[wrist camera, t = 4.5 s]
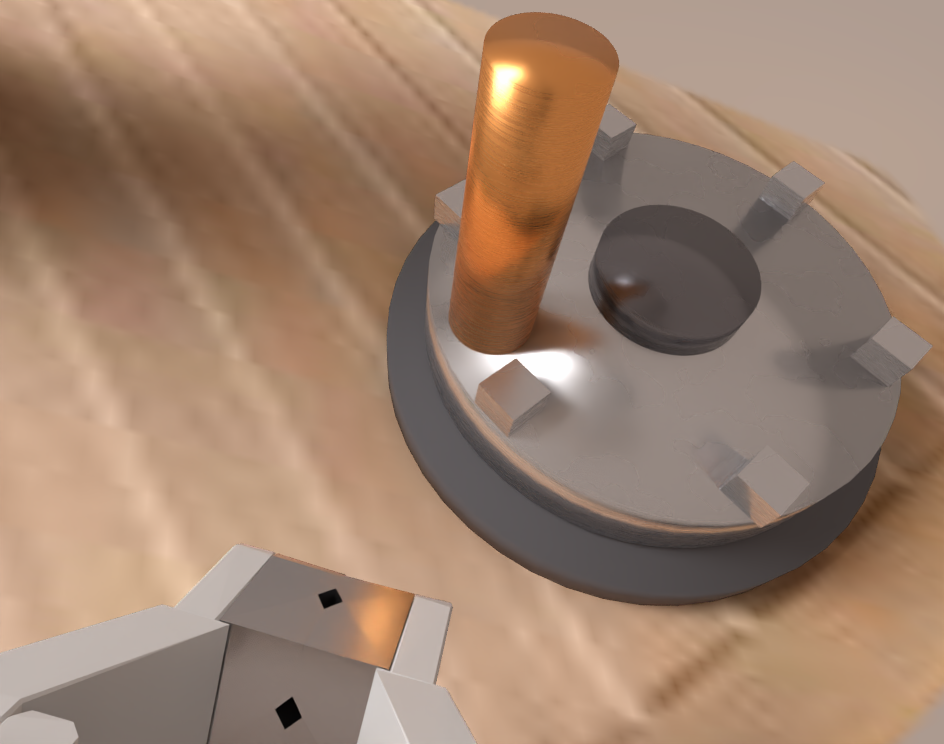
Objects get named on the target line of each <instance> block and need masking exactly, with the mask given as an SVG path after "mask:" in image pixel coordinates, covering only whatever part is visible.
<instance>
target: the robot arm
mask: <svg viewBox="0 0 944 744" xmlns="http://www.w3.org/2000/svg"><path fill="white" fill-rule="evenodd" d="M414 597H415V598H414ZM452 608H453V607H452V604H451V603H450V602H446V601H442V600H438V599H433V598H429V597H425V596H421V595H417V594H416V596H415V594H412V593H409V592H405V591H401V590H397V589H393V588H389V587H386V586H382V585H378V584H374V583H370V582H366V581H363V580H359V579H355V578H351V577H347V576H346V575H345V574H342V573H339V572H335V571H332V570H329V569H326V568H323V567H319V566H316V565H313V564H310V563H307V562H303V561H300V560H297V559H294V558H291V557H287V556H284V555H281V554H275V553H274V552H272V551H269V550H265V549H261V548H258V547H254V546H251V545H247V544H243V543H241V544H236V545H235V546H233V547H232V548H231V549H230V550H229V551H228V552H227V553H226V554H225V555H224V556H223V557H222V558H221V559H220V560H219V561H218V562H217V564H216V565H215V566H214V567H213V568H212V569H211V570H210V571H209V572H208V573H207V574H206V575H205V576H204V577H203V578H202V579H201V580H200V581H199V582H198V583H197V584H196V585H195V586H194V587H193V588H192V589H191V590H190V591H189V592H188V593H187V594H186V595H185V596H184V597H183V598H182V599H181V600H180V601H179V602H178V603H177V604H176V605H175V607H174V608H173V607H170V606H166V605H159V606H155V607H152V608H149V609H145V610H142V611H139V612H135V613H132V614H129V615H125V616H122V617H119V618H115V619H112V620H109V621H105V622H102V623H99V624H95V625H92V626H89V627H85V628H82V629H79V630H75V631H72V632H69V633H65V634H62V635H59V636H55V637H52V638H49V639H45V640H42V641H38V642H35V643H32V644H28V645H25V646H22V647H18V648H15V649H12V650H8V651H5V652H2V653H0V744H477V742H476V740H475V738H474V737H473V735H472V733H471V731H470V729H469V728H468V726H467V724H466V722H465V720H464V719H463V717H462V715H461V713H460V711H459V710H458V708H457V706H456V704H455V702H454V701H453V699H452V697H451V695H450V693H449V692H448V690H447V689H446V688H444V687H441V686H437V685H436V681H437V676H438V672H439V667H440V663H441V658H442V654H443V649H444V644H445V640H446V635H447V631H448V626H449V621H450V617H451V612H452Z"/></svg>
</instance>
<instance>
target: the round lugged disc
mask: <svg viewBox="0 0 944 744" xmlns="http://www.w3.org/2000/svg"><path fill="white" fill-rule="evenodd" d="M618 68H619V59H618V55H617V52H616V50H615V48H614V47H613V45H612V44H611V43H610V42H609V40H608V39H607V38H606V37H605V36H604V35H602V34H601V33H600V32H598V31H597V30H595V29H594V28H592V27H590V26H589V25H587V24H585V23H582V22H580V21H578V20H575V19H572V18H569V17H566V16H562V15H557V14H552V13H541V12H530V13H520V14H515V15H512V16H509V17H506V18H504V19H501V20H499V21H498V22H496V23H495V24H494V25H493V26H492V27H491V28H490V29H489V30H488V32H487V34H486V36H485V39H484V46H483V53H482V61H481V69H480V76H479V84H478V92H477V99H476V107H475V115H474V122H473V130H472V138H471V145H470V153H469V161H468V169H467V176H466V179H465V180H463V181H461V182H459V183H457V184H455V185H453V186H451V187H449V188H448V189H446V190H444V191H442V192H440V193H438V194H436V196H435V209H434V219H435V220H436V221H437V222H439V223H440V225H439V227H438V230H437V232H436V234H435V237H434V241H433V246H432V250H431V255H430V259H429V272H428V285H427V297H426V312H425V331H424V332H425V341H426V350H427V358H428V361H429V365H430V369H431V373H432V376H433V380H434V383H435V385H436V388H437V390H438V392H439V395H440V397H441V399H442V402H443V404H444V406H445V408H446V410H447V412H448V413H449V415H450V417H451V418H452V420H453V422H454V423H455V425H456V427H457V428H458V430H459V432H460V433H461V434H462V436H463V437H464V438H465V439H466V441H467V442H468V443H469V444H470V446H471V447H472V448H473V449H474V451H475V452H476V453H477V454H478V456H479V457H480V458H481V459H482V460H483V461H484V462H485V463H486V464H487V465H488V466H489V467H490V468H491V469H492V470H493V471H494V472H495V473H496V474H497V475H498V476H499V477H500V478H502V479H503V480H504V481H505V482H506V483H508V484H509V485H510V486H512V487H513V488H514V489H516V490H517V491H518V492H519V493H521V494H522V495H523V496H525V497H526V498H527V499H529V500H530V501H532V502H533V503H535V504H537V505H539V506H540V507H542V508H544V509H545V510H547V511H549V512H550V513H552V514H554V515H556V516H557V517H559V518H561V519H563V520H566V521H568V522H570V523H573V524H575V525H577V526H579V527H582V528H584V529H586V530H589V531H591V532H594V533H597V534H601V535H604V536H607V537H611V538H614V539H617V540H621V541H624V542H630V543H636V544H642V545H648V546H654V547H668V548H698V547H707V546H717V545H724V544H727V543H731V542H735V541H739V540H743V539H747V538H751V537H753V536H755V535H758V534H760V533H762V532H764V531H767V530H769V529H771V528H774V527H776V526H778V525H779V524H781V523H783V522H785V521H786V520H788V519H790V518H791V517H793V516H795V515H796V514H798V513H800V512H802V511H803V510H805V509H807V508H808V507H810V506H812V505H813V504H815V503H817V502H818V501H820V500H822V499H824V498H825V497H827V496H828V495H830V494H831V493H833V492H834V491H836V490H837V489H839V488H840V487H842V486H843V485H845V484H846V483H848V482H850V481H851V480H852V479H853V478H854V477H855V476H856V475H857V474H858V473H859V472H860V471H861V470H862V469H863V468H864V467H865V466H866V465H867V464H868V463H869V462H870V461H871V459H872V458H873V457H874V455H875V454H876V452H877V451H878V449H879V448H880V447H881V445H882V444H883V442H884V441H885V439H886V436H887V434H888V432H889V429H890V427H891V425H892V423H893V420H894V418H895V414H896V410H897V406H898V401H899V397H900V391H901V377H902V376H904V375H905V374H906V373H908V372H909V371H910V370H912V369H913V368H914V366H915V365H916V364H917V363H918V362H919V361H920V360H921V359H922V358H923V356H924V355H925V354H926V353H927V352H928V351H929V350H930V349H931V347H932V345H931V344H929V343H928V342H927V341H925V340H924V339H923V338H921V337H920V336H919V335H917V334H916V333H915V332H913V331H912V330H911V329H909V328H908V327H907V326H905V325H904V324H903V323H901V322H900V321H899V320H897V319H896V318H895V317H891V314H890V312H889V310H888V307H887V305H886V303H885V300H884V298H883V295H882V293H881V291H880V290H879V288H878V286H877V284H876V283H875V281H874V279H873V277H872V276H871V274H870V272H869V270H868V269H867V268H866V266H865V265H864V264H863V262H862V261H861V259H860V258H859V257H858V255H857V254H856V252H855V251H854V250H853V248H852V247H851V246H850V245H849V244H848V243H847V242H846V241H845V239H844V238H843V237H842V236H841V235H840V234H839V233H838V232H837V230H836V229H835V228H834V227H833V226H832V225H830V224H829V223H828V222H827V221H826V220H825V219H824V218H823V217H822V216H821V215H820V214H819V213H818V212H817V211H815V210H814V209H813V208H812V207H810V206H809V203H810V202H811V201H812V200H813V198H814V197H815V196H816V194H817V193H818V192H819V190H820V189H821V188H822V186H823V185H824V184H825V183H824V182H823V181H822V180H820V179H819V178H817V177H816V176H814V175H813V174H811V173H810V172H809V171H807V170H806V169H804V168H803V167H801V166H800V165H799V164H797V163H796V162H794V161H793V162H792V163H790V164H789V165H787V166H786V167H785V168H783V169H782V170H780V171H779V172H777V173H776V174H775V175H773V176H772V178H769V177H767V176H766V175H764V174H762V173H760V172H758V171H756V170H755V169H753V168H751V167H749V166H747V165H745V164H743V163H741V162H738V161H736V160H734V159H732V158H729V157H727V156H725V155H723V154H720V153H717V152H714V151H711V150H709V149H706V148H703V147H700V146H697V145H693V144H690V143H686V142H682V141H679V140H675V139H670V138H665V137H659V136H654V135H648V134H639V133H633V132H634V129H635V126H636V124H635V123H634V122H633V121H631V120H630V119H629V118H627V117H626V116H625V115H623V114H622V113H621V112H619V111H618V110H617V109H615V108H614V107H613V106H611V105H610V104H608V105H607V102H608V99H609V96H610V93H611V90H612V87H613V84H614V81H615V78H616V75H617V72H618Z"/></svg>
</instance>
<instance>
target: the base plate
mask: <svg viewBox="0 0 944 744" xmlns="http://www.w3.org/2000/svg"><path fill="white" fill-rule="evenodd" d="M439 225H440V223H439V222H437V221H435V222H434V223H433V224H432V225H431V226H430V227H429V228H428V230H427V231H426V232H425V233H424V234H423V235H422V236H421V237H420V239H419V240H418V242H417V243H416V245H415V246H414V248H413V249H412V251H411V252H410V254H409V256H408V257H407V259H406V261H405V263H404V265H403V267H402V270H401V272H400V274H399V276H398V279H397V281H396V284H395V288H394V292H393V295H392V299H391V303H390V307H389V317H388V328H387V365H388V379H389V389H390V393H391V398H392V402H393V407H394V411H395V416H396V418H397V421H398V424H399V426H400V429H401V431H402V434H403V437H404V439H405V442H406V444H407V446H408V448H409V450H410V452H411V454H412V455H413V457H414V459H415V461H416V463H417V464H418V466H419V468H420V470H421V472H422V473H423V475H424V476H425V478H426V479H427V480H428V482H429V483H430V484H431V486H432V487H433V488H434V490H435V491H436V492H437V494H438V495H439V496H440V498H441V499H442V500H443V502H444V503H445V504H446V505H447V506H448V507H449V508H450V509H451V510H452V511H453V512H454V513H455V514H456V515H457V516H458V517H459V518H460V519H461V520H462V521H463V522H464V523H465V525H466V526H467V527H468V528H470V529H471V530H472V531H473V532H475V533H476V534H477V535H478V536H480V537H481V538H482V539H483V540H485V541H486V542H487V543H488V544H490V545H491V546H492V547H493V548H495V549H496V550H497V551H498V552H500V553H502V554H503V555H505V556H506V557H508V558H510V559H511V560H513V561H515V562H516V563H518V564H520V565H521V566H523V567H524V568H526V569H528V570H529V571H531V572H533V573H536V574H538V575H540V576H542V577H544V578H547V579H549V580H551V581H553V582H556V583H558V584H560V585H562V586H564V587H567V588H570V589H573V590H577V591H580V592H583V593H587V594H590V595H593V596H596V597H600V598H603V599H609V600H615V601H621V602H627V603H633V604H639V605H673V606H678V605H686V604H694V603H703V602H711V601H715V600H719V599H722V598H726V597H729V596H733V595H737V594H740V593H744V592H746V591H748V590H751V589H753V588H755V587H757V586H759V585H761V584H764V583H766V582H768V581H770V580H772V579H774V578H777V577H779V576H781V575H783V574H785V573H787V572H790V571H792V570H794V569H796V568H798V567H800V566H801V565H803V564H804V563H806V562H807V561H809V560H810V559H811V558H813V557H814V556H816V555H817V554H819V553H820V552H821V551H823V550H824V549H826V548H827V547H828V546H829V545H830V544H831V543H832V542H833V541H834V540H835V539H836V538H837V537H838V536H839V535H840V533H841V532H842V531H843V530H844V529H845V528H846V527H847V526H848V525H849V523H850V522H851V520H852V519H853V517H854V516H855V514H856V513H857V511H858V510H859V508H860V507H861V505H862V504H863V502H864V500H865V498H866V495H867V493H868V491H869V488H870V486H871V484H872V481H873V479H874V477H875V473H876V468H877V464H878V460H879V455H880V451H881V447H880V448H879V449H878V451H877V452H876V454H875V455H874V457H873V458H872V459H871V461H870V462H869V463H868V464H867V465H866V466H865V467H864V468H863V469H862V470H861V471H860V472H859V473H858V474H857V475H856V476H855V477H854V478H853V479H852V480H851V481H850V482H848V483H846V484H845V485H843V486H842V487H840V488H839V489H837V490H836V491H834V492H833V493H831V494H830V495H828V496H827V497H825V498H824V499H822V500H820V501H818V502H817V503H815V504H813V505H812V506H810V507H808V508H807V509H805V510H803V511H802V512H800V513H798V514H796V515H795V516H793V517H791V518H790V519H788V520H786V521H785V522H783V523H781V524H779V525H778V526H776V527H774V528H771V529H769V530H767V531H764V532H762V533H760V534H758V535H755V536H753V537H751V538H747V539H743V540H739V541H735V542H731V543H727V544H724V545H717V546H707V547H698V548H668V547H654V546H648V545H642V544H636V543H630V542H624V541H621V540H617V539H614V538H611V537H607V536H604V535H601V534H597V533H594V532H591V531H589V530H586V529H584V528H582V527H579V526H577V525H575V524H573V523H570V522H568V521H566V520H563V519H561V518H559V517H557V516H556V515H554V514H552V513H550V512H549V511H547V510H545V509H544V508H542V507H540V506H539V505H537V504H535V503H533V502H532V501H530V500H529V499H527V498H526V497H525V496H523V495H522V494H521V493H519V492H518V491H517V490H516V489H514V488H513V487H512V486H510V485H509V484H508V483H506V482H505V481H504V480H503V479H502V478H500V477H499V476H498V475H497V474H496V473H495V472H494V471H493V470H492V469H491V468H490V467H489V466H488V465H487V464H486V463H485V462H484V461H483V460H482V459H481V458H480V457H479V456H478V454H477V453H476V452H475V451H474V449H473V448H472V447H471V446H470V444H469V443H468V442H467V441H466V439H465V438H464V437H463V436H462V434H461V433H460V432H459V430H458V428H457V427H456V425H455V423H454V422H453V420H452V418H451V417H450V415H449V413H448V412H447V410H446V408H445V406H444V404H443V402H442V399H441V397H440V395H439V392H438V390H437V388H436V385H435V383H434V380H433V376H432V373H431V369H430V365H429V361H428V358H427V350H426V341H425V332H424V331H425V312H426V297H427V285H428V272H429V259H430V255H431V250H432V246H433V241H434V237H435V234H436V232H437V230H438V227H439Z"/></svg>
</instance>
